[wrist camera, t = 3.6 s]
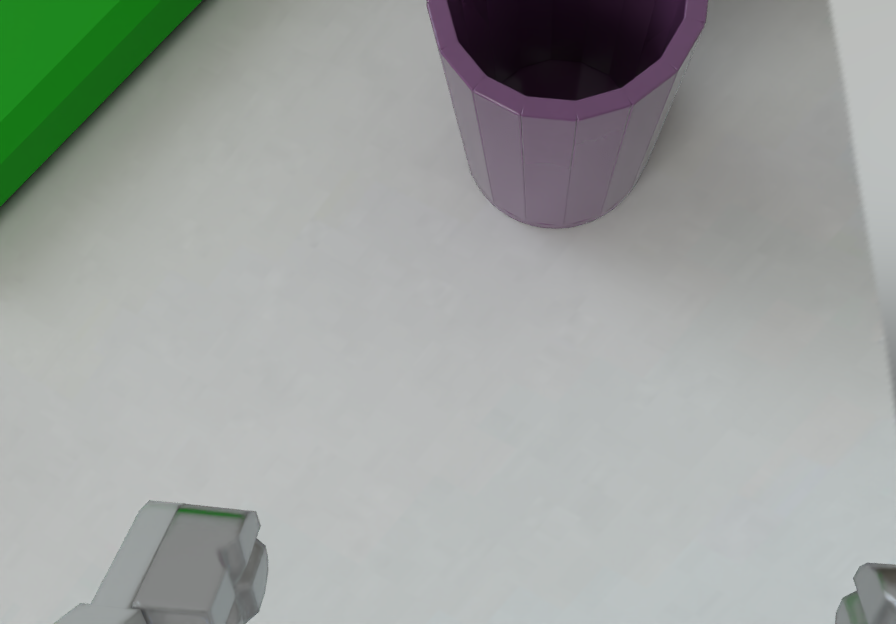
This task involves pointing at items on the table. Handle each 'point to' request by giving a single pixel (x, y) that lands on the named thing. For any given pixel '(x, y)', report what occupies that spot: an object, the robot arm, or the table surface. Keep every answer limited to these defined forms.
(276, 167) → the table surface
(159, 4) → the book
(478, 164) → the plum tumbler
